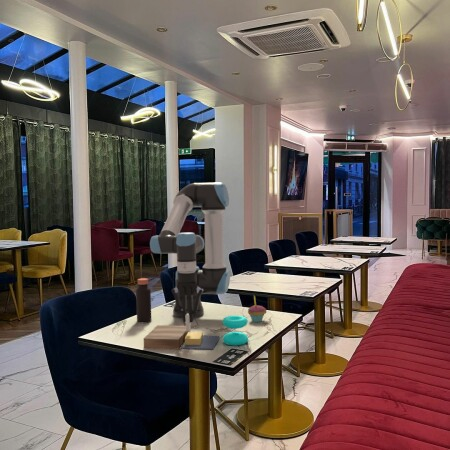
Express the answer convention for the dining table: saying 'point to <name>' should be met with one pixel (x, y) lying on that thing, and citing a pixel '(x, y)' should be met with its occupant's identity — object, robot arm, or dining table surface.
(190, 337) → the yellow flat block
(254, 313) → the cupcake
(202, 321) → the dining table surface
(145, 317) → the bottle
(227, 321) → the donuts
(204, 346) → the mat
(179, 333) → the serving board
